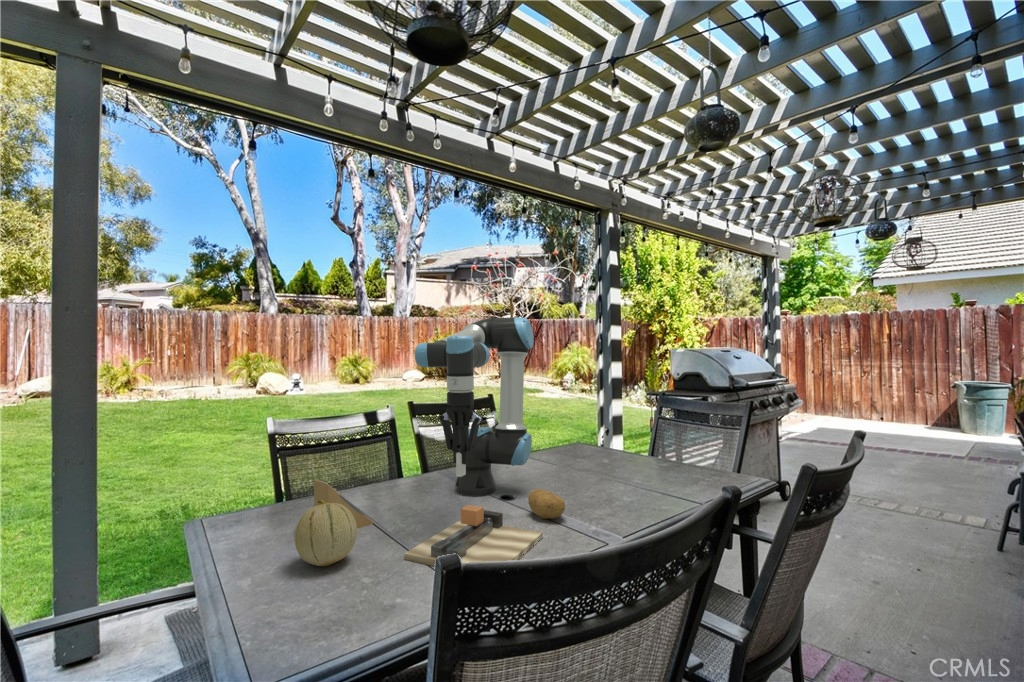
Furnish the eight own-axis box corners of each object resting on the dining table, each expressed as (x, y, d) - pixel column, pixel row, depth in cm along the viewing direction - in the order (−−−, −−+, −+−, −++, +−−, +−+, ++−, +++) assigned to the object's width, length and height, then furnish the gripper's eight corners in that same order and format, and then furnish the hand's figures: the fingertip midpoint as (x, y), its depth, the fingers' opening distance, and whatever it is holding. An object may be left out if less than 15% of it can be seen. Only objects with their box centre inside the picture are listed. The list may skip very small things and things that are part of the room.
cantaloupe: (329, 581, 112) (330, 514, 112) (279, 571, 117) (280, 507, 117) (369, 555, 125) (370, 496, 126) (323, 547, 131) (324, 490, 131)
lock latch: (468, 518, 141) (468, 504, 141) (483, 521, 138) (483, 507, 139) (460, 523, 137) (460, 508, 137) (476, 526, 135) (476, 511, 135)
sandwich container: (376, 523, 149) (376, 474, 149) (328, 538, 138) (328, 484, 138) (360, 517, 155) (360, 469, 155) (313, 530, 143) (313, 479, 144)
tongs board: (462, 523, 148) (462, 506, 148) (542, 537, 137) (542, 519, 137) (404, 559, 123) (404, 538, 123) (496, 580, 112) (496, 557, 112)
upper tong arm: (486, 526, 141) (486, 516, 141) (499, 528, 140) (499, 518, 140) (442, 558, 120) (442, 546, 120) (457, 561, 118) (457, 548, 118)
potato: (549, 527, 145) (549, 500, 145) (521, 514, 157) (521, 489, 157) (573, 521, 151) (573, 494, 151) (544, 508, 162) (544, 484, 162)
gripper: (433, 391, 136) (433, 476, 136) (474, 393, 131) (475, 481, 131) (447, 388, 143) (447, 469, 143) (487, 390, 138) (487, 474, 138)
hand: (461, 475), depth 137 cm, fingers closed
